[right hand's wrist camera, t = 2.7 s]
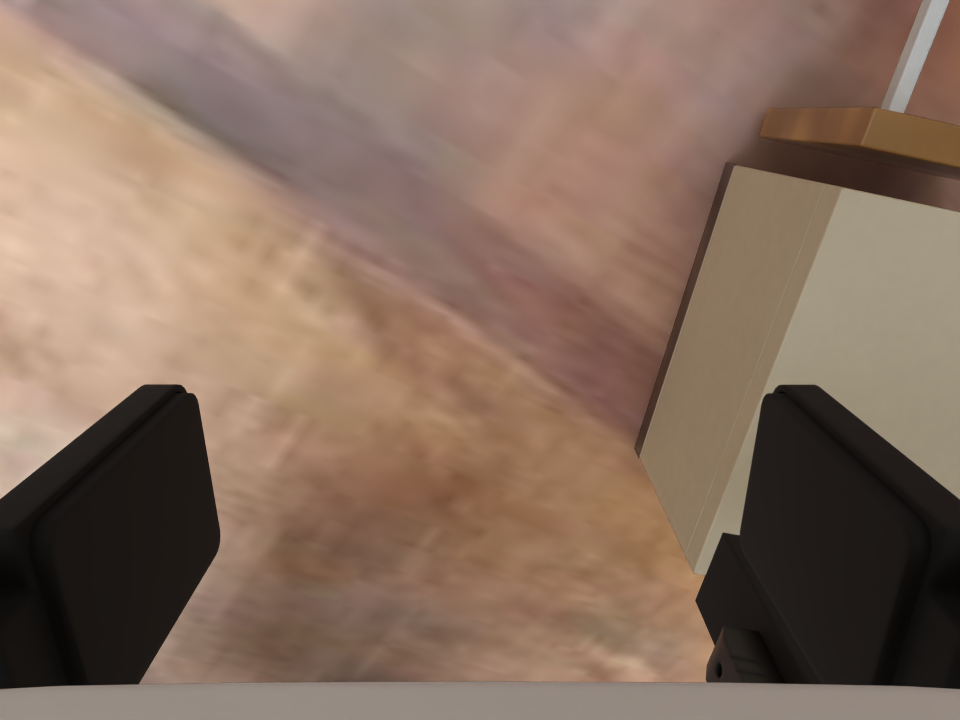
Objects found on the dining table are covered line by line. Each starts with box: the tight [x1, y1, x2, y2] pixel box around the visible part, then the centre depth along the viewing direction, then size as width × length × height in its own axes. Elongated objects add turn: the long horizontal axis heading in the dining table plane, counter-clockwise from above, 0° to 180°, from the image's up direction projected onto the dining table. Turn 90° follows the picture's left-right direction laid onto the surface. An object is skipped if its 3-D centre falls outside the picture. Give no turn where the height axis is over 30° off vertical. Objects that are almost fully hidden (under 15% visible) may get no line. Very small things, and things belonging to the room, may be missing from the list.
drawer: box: [759, 0, 960, 180], centre depth 26 cm, size 20×9×8 cm, turn 169°
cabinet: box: [635, 163, 960, 575], centre depth 28 cm, size 15×11×10 cm
